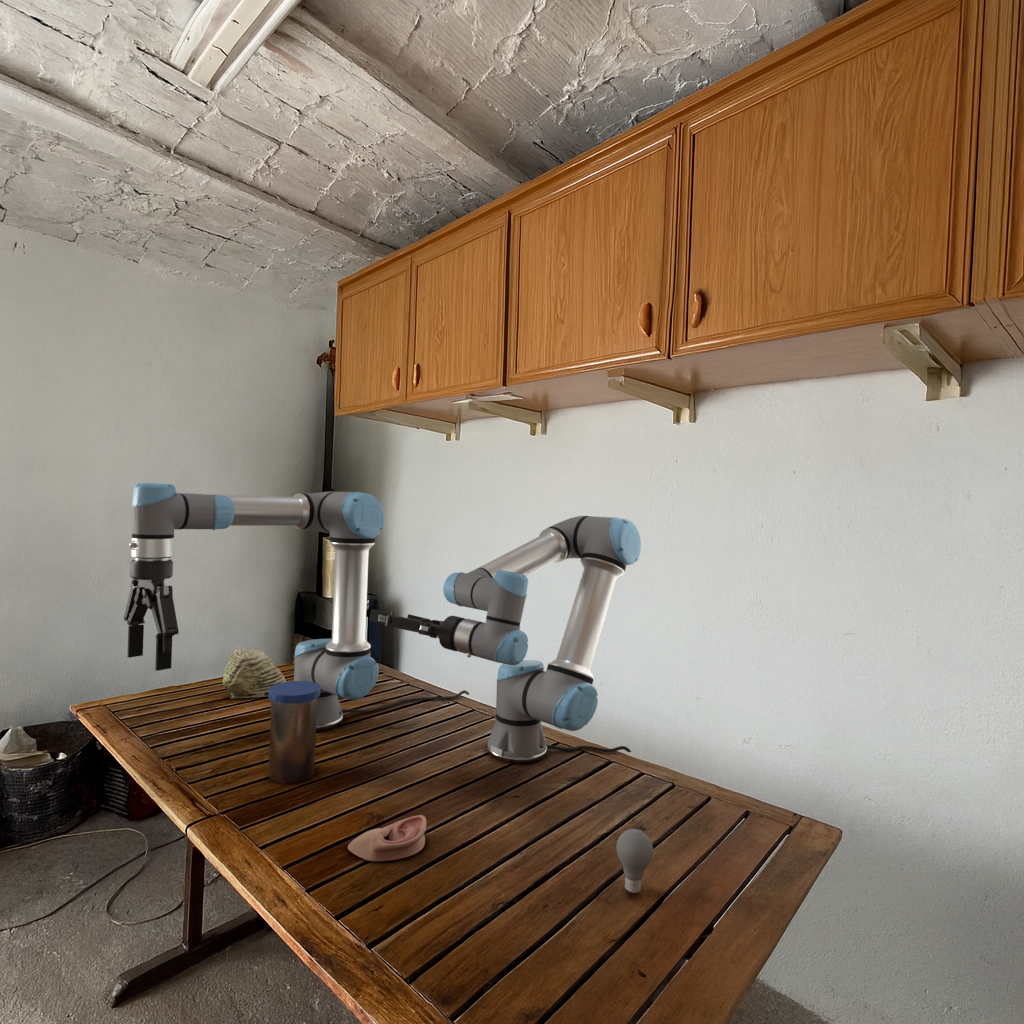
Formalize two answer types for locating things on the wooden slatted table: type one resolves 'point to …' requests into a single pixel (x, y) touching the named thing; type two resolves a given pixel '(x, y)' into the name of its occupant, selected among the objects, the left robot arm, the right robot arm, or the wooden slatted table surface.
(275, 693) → the lid
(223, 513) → the left robot arm
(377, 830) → the anatomical model
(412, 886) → the wooden slatted table surface
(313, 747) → the jar
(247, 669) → the fossil
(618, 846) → the light bulb
